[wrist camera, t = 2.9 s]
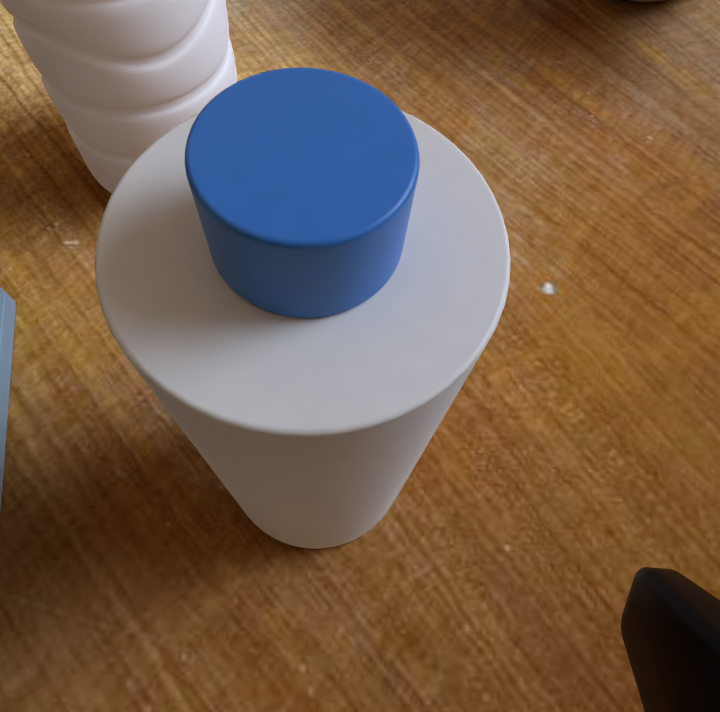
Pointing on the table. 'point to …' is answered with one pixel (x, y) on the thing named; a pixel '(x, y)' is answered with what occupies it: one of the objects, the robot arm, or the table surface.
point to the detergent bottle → (304, 292)
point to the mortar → (646, 0)
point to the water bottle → (125, 69)
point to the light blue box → (5, 369)
